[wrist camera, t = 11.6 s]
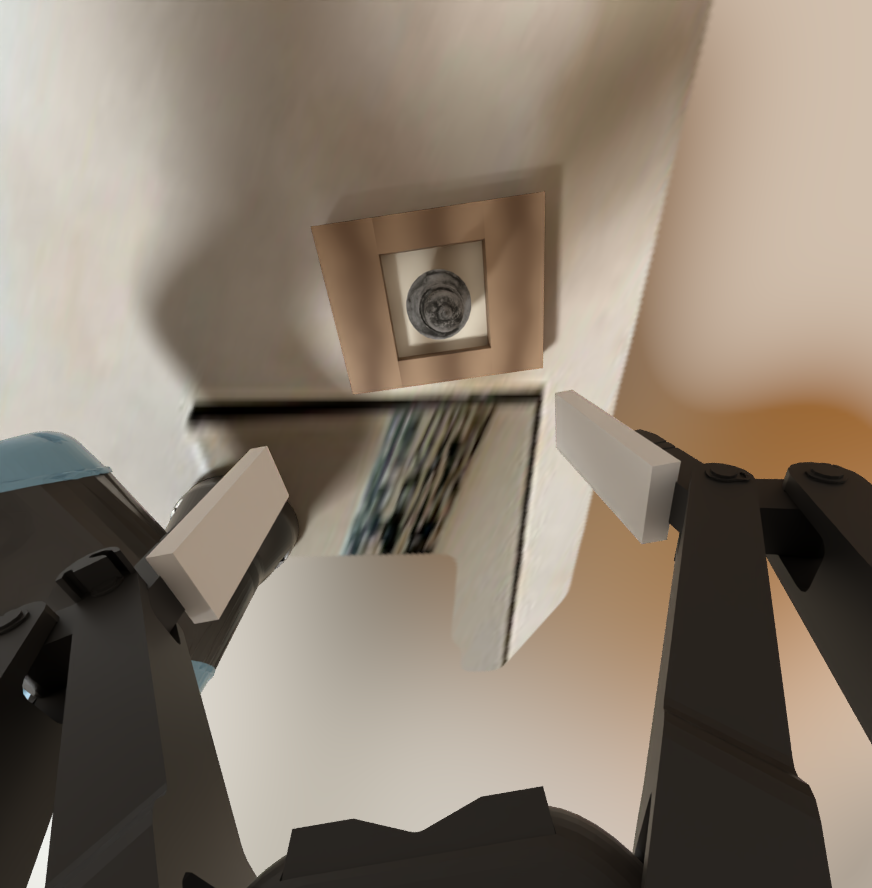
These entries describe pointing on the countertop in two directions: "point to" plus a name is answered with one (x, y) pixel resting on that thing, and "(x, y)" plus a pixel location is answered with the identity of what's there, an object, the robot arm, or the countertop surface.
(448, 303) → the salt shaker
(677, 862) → the robot arm
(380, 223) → the wooden frame
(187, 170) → the countertop surface
